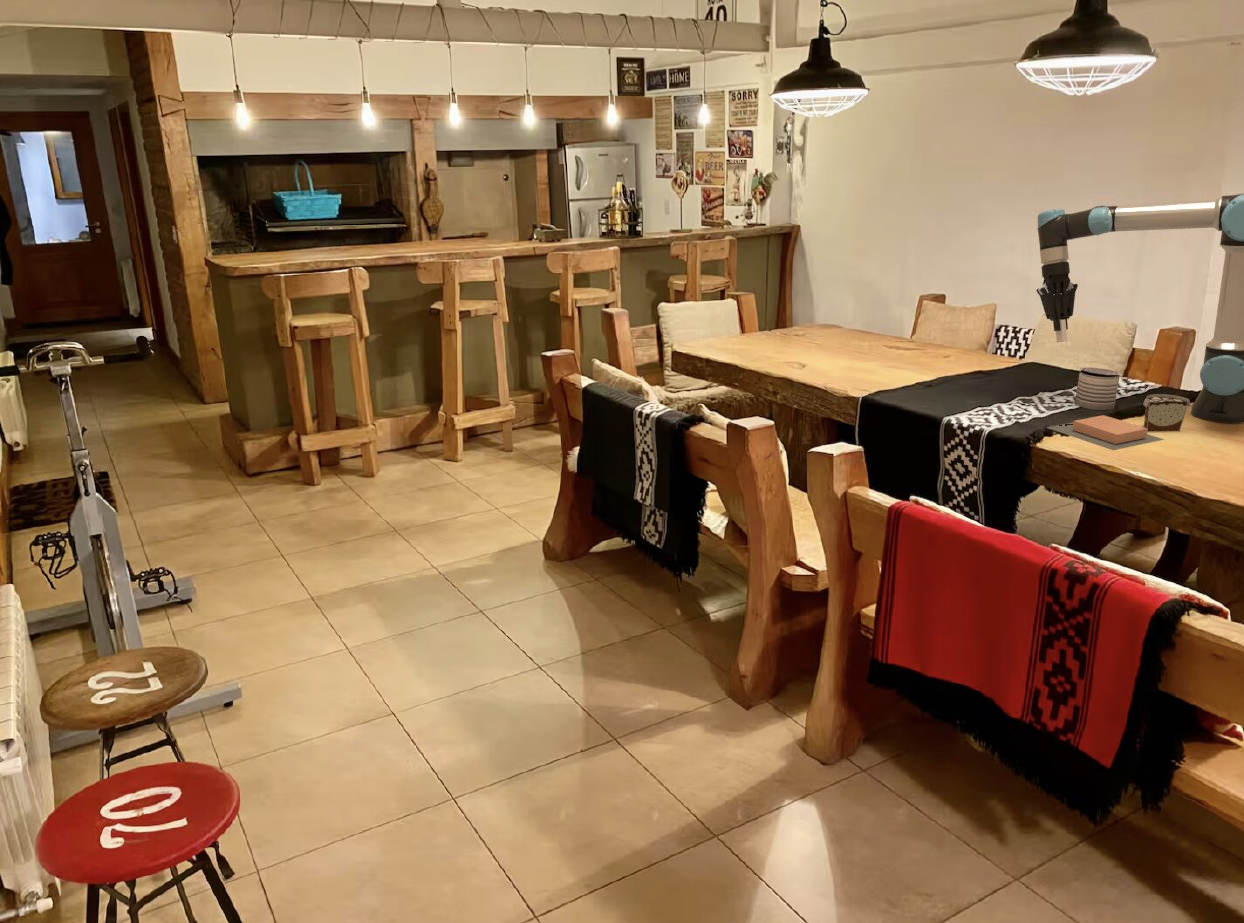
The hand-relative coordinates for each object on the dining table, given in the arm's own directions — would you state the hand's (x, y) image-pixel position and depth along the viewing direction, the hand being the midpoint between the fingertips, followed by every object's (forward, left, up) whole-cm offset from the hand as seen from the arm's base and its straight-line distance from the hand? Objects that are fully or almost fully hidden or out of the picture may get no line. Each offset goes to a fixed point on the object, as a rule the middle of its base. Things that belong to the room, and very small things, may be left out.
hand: (1062, 341), depth 280 cm
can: (-13, +2, -21) cm, 24 cm away
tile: (+3, +23, -18) cm, 30 cm away
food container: (-17, +26, -21) cm, 37 cm away
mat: (+1, +28, -21) cm, 35 cm away
